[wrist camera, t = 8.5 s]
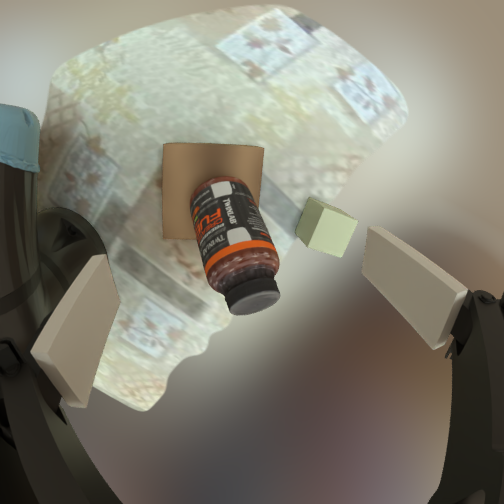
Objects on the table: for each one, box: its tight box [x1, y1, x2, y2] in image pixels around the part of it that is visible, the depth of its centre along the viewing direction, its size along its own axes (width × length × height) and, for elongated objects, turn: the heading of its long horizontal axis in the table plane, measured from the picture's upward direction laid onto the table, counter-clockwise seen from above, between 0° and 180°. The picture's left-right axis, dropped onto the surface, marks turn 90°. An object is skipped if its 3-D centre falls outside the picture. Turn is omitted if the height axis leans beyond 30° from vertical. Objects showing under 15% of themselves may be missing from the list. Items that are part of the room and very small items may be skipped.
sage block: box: [295, 197, 358, 258], centre depth 33 cm, size 5×5×5 cm
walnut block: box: [162, 143, 264, 239], centre depth 29 cm, size 10×10×5 cm
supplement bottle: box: [190, 176, 280, 315], centre depth 23 cm, size 6×6×11 cm
